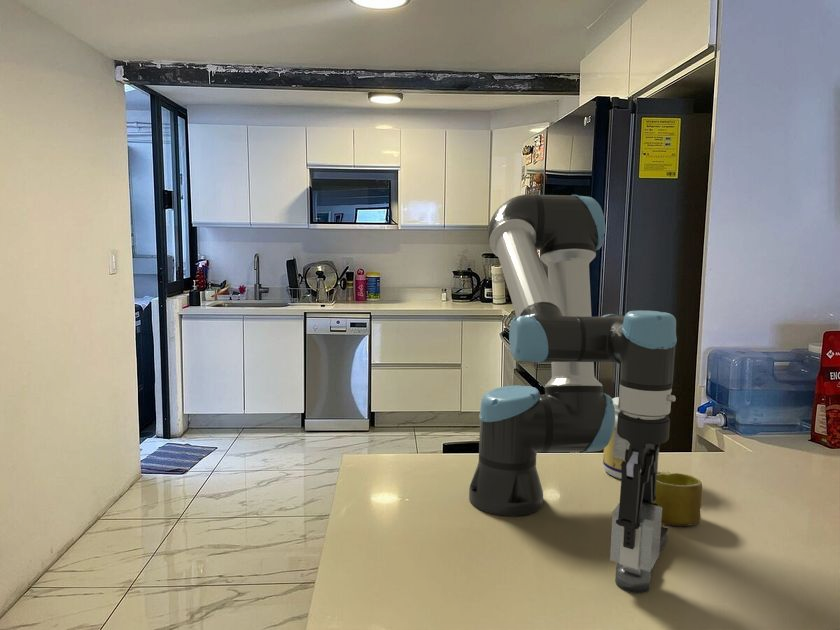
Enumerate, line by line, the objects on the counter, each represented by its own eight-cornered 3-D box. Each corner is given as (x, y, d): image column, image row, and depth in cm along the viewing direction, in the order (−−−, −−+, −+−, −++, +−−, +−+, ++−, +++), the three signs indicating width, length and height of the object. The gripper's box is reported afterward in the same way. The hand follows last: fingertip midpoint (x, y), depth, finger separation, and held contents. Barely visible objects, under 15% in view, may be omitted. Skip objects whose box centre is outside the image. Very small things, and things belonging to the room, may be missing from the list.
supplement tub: (612, 459, 154) (616, 392, 152) (663, 471, 147) (668, 401, 145) (594, 474, 145) (598, 403, 142) (648, 487, 137) (653, 412, 135)
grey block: (609, 560, 97) (612, 511, 96) (620, 544, 102) (623, 497, 101) (649, 571, 94) (653, 521, 93) (659, 555, 99) (662, 507, 98)
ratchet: (643, 535, 115) (646, 501, 115) (673, 543, 113) (676, 508, 112) (611, 586, 98) (613, 547, 97) (645, 597, 95) (648, 556, 95)
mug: (717, 525, 116) (701, 471, 117) (660, 536, 118) (645, 483, 119) (705, 510, 127) (690, 461, 129) (653, 520, 130) (639, 472, 131)
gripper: (655, 432, 85) (644, 592, 88) (682, 403, 101) (672, 539, 104) (600, 423, 90) (591, 575, 92) (634, 396, 105) (626, 527, 108)
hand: (634, 556), depth 98 cm, fingers closed on grey block, 6 cm apart
